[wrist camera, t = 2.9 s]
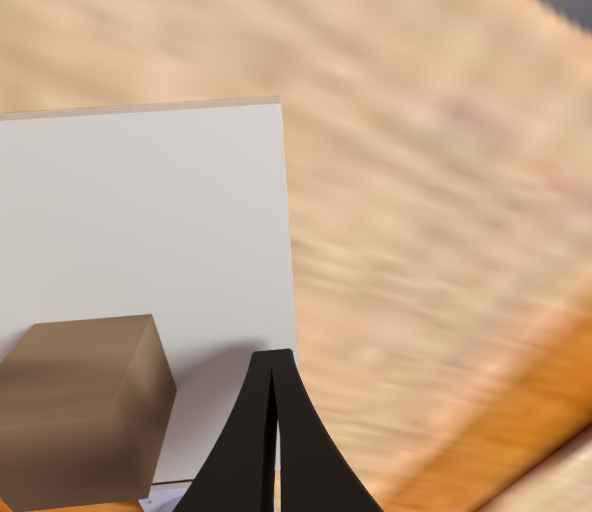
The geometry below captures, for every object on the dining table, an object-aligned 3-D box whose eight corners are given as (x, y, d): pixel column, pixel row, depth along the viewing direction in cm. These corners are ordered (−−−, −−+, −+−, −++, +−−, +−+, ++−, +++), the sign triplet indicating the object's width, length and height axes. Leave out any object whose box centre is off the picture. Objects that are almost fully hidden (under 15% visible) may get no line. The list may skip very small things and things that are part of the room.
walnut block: (177, 390, 14) (147, 498, 11) (77, 399, 14) (14, 512, 10) (151, 313, 12) (105, 416, 9) (35, 323, 12) (-60, 432, 9)
